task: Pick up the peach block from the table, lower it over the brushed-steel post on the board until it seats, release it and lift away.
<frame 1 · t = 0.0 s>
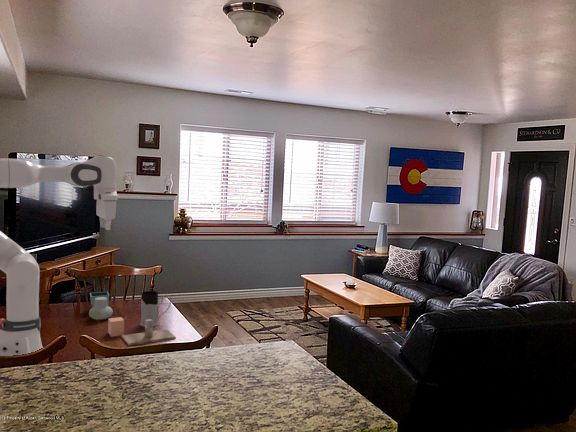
hand: (105, 228, 210), 48 cm above the table, fingers open, 8 cm apart
post stand: (148, 338, 220), on the table
air freshener: (100, 318, 248), on the table
flower pot: (99, 311, 261), on the table
peach block: (116, 334, 224), on the table
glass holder: (155, 324, 242), on the table
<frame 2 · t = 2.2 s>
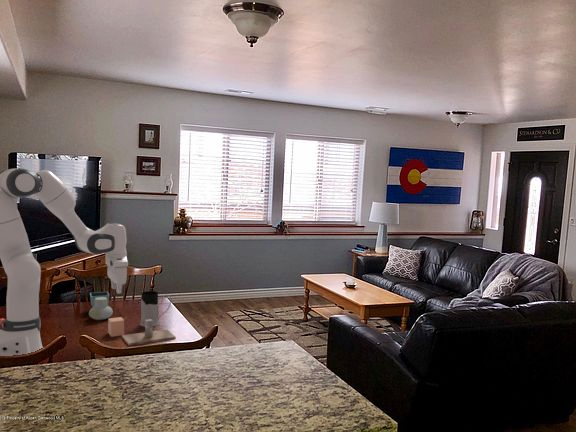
hand: (116, 290, 223), 19 cm above the table, fingers open, 8 cm apart
nothing on the table moved.
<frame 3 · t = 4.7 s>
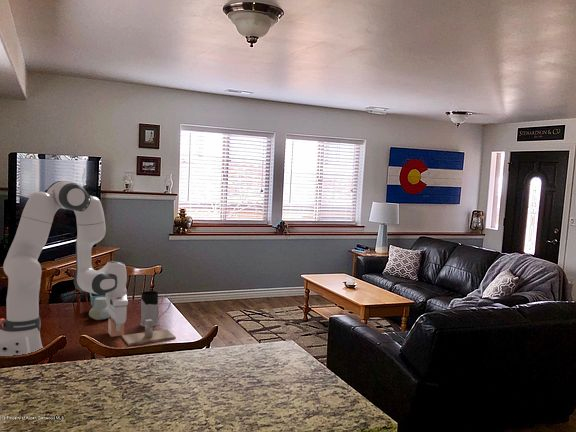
hand: (116, 328, 224), 2 cm above the table, fingers closed on peach block, 6 cm apart
peach block: (116, 334, 224), on the table, touching gripper
everything else where it was.
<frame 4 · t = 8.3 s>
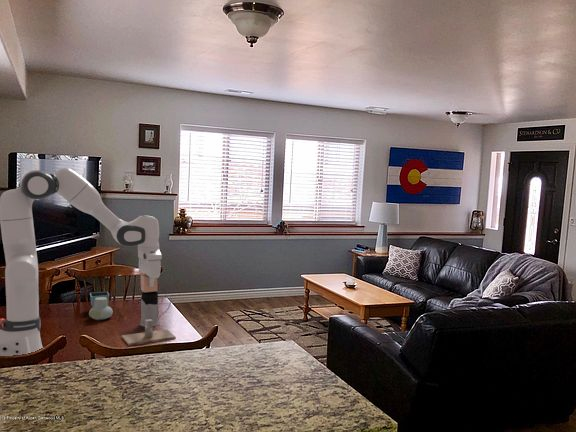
hand: (148, 284, 218), 23 cm above the table, fingers closed on peach block, 6 cm apart
peach block: (149, 290, 218), point 21 cm above the table, touching gripper
everything else where it was.
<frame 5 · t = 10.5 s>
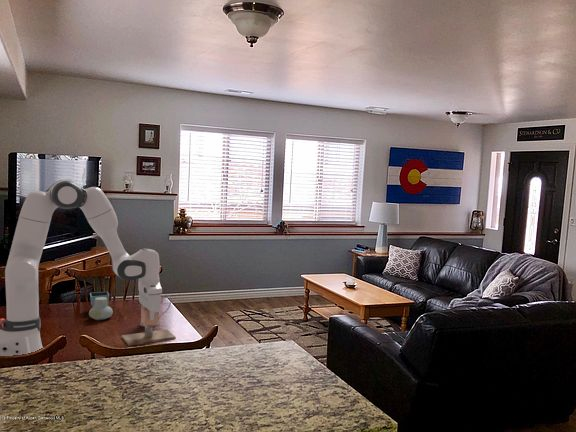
hand: (149, 317, 219), 9 cm above the table, fingers closed on peach block, 6 cm apart
peach block: (149, 323, 219), point 7 cm above the table, touching gripper
everything else where it was.
when the fingers open (5 cm above the table, at t = 12.2 s): peach block stays where it is, resting on post stand.
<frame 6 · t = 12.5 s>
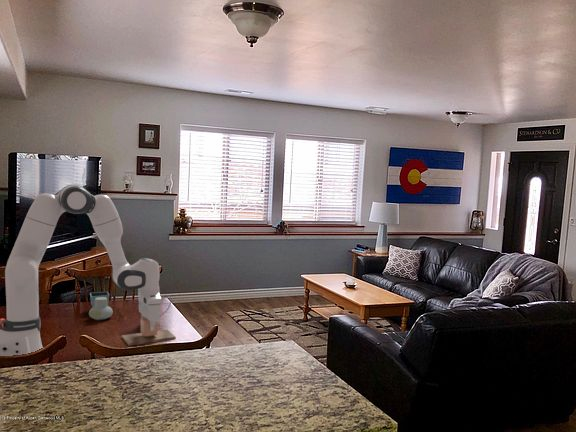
hand: (148, 327, 219), 5 cm above the table, fingers open, 8 cm apart
peach block: (148, 333, 220), point 2 cm above the table, touching post stand
everything else where it was.
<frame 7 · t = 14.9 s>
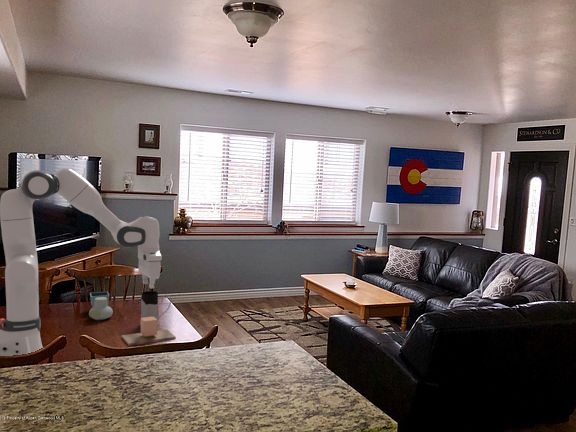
hand: (148, 285, 218), 23 cm above the table, fingers open, 8 cm apart
nothing on the table moved.
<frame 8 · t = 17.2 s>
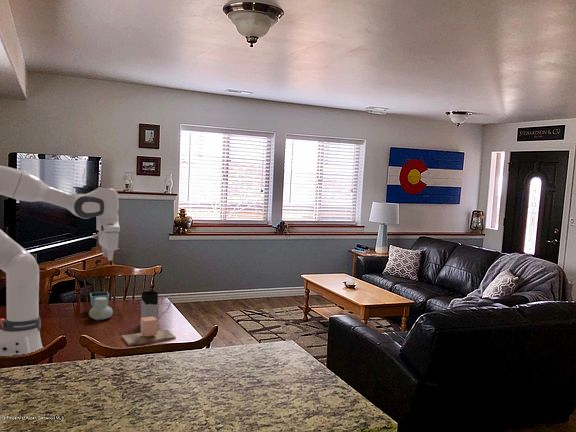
hand: (107, 258, 213), 35 cm above the table, fingers open, 8 cm apart
nothing on the table moved.
at the end: peach block 0.0 cm off-centre on the post stand, point 2.0 cm above the post stand's base; peach block tilted 0°; the gripper is holding nothing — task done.
